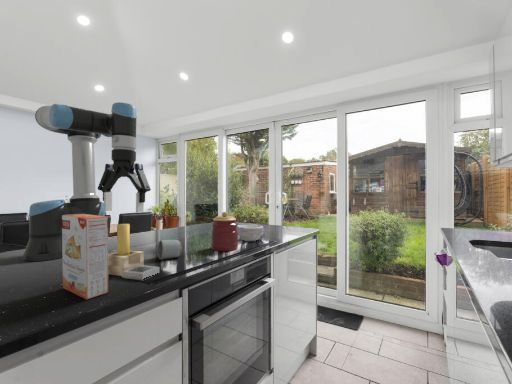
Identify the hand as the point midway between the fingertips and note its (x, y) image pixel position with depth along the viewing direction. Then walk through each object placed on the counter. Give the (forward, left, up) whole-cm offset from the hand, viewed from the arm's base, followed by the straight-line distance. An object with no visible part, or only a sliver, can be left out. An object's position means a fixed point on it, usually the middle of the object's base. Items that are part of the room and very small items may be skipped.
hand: (123, 211), depth 92 cm
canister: (+18, +44, -21) cm, 52 cm away
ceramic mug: (+3, +21, -21) cm, 30 cm away
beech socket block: (0, 0, -20) cm, 20 cm away
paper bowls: (+22, +70, -21) cm, 76 cm away
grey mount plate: (+9, -2, -20) cm, 22 cm away
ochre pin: (0, 0, -20) cm, 20 cm away
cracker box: (+5, -19, -21) cm, 28 cm away
